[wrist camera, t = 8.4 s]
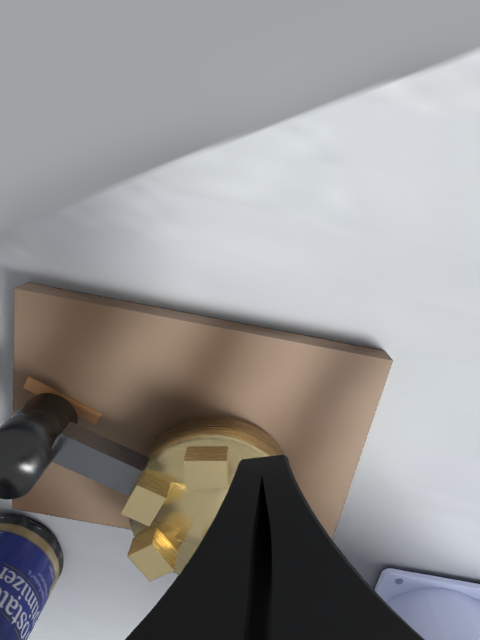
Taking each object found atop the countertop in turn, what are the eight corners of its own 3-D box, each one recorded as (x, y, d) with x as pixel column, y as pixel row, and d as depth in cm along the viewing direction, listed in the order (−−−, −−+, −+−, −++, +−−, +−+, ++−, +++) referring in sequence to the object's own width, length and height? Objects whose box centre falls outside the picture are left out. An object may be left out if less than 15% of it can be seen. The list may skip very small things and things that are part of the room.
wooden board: (385, 350, 20) (393, 361, 19) (320, 545, 24) (324, 565, 23) (28, 282, 20) (13, 288, 18) (23, 493, 24) (11, 510, 23)
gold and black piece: (321, 459, 20) (340, 534, 16) (247, 561, 23) (245, 652, 18) (61, 331, 19) (0, 376, 14) (9, 456, 21) (-57, 528, 17)
